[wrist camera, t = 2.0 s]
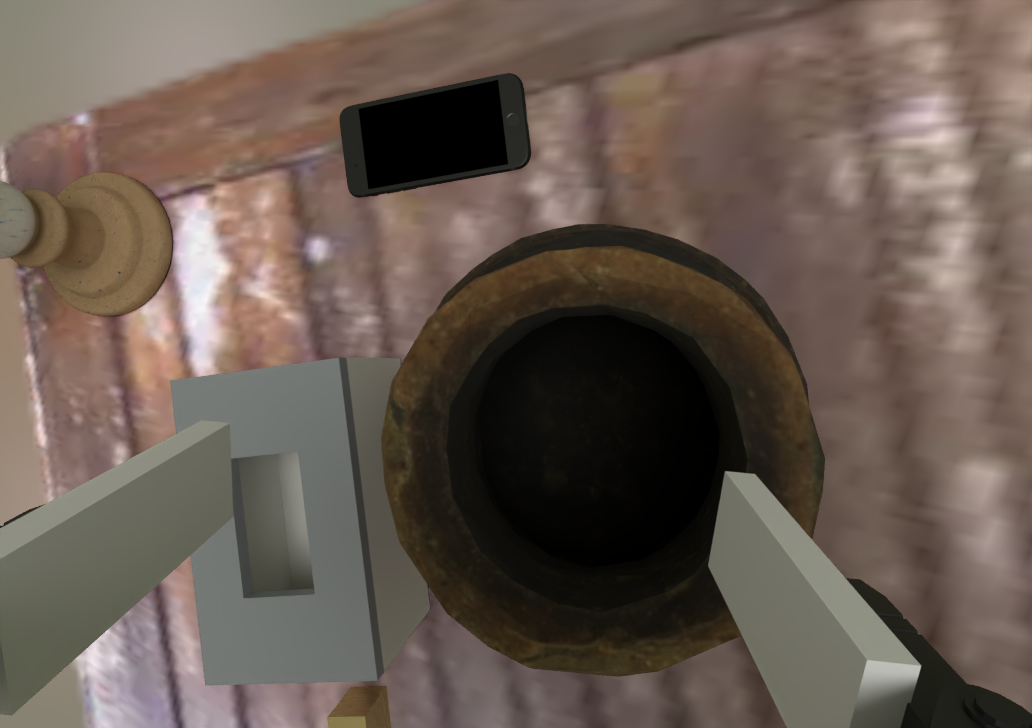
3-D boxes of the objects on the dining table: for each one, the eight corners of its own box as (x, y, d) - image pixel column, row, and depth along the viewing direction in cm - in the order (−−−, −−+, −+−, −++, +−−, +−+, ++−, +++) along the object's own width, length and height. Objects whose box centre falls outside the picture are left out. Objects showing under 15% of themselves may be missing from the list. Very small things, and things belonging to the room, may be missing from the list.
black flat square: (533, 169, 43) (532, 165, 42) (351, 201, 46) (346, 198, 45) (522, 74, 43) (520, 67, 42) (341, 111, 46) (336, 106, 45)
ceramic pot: (662, 191, 41) (717, -6, 19) (833, 485, 39) (1116, 648, 17) (390, 350, 45) (171, 342, 23) (535, 625, 43) (450, 909, 21)
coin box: (430, 609, 44) (377, 680, 34) (292, 616, 46) (205, 685, 37) (399, 357, 45) (338, 357, 35) (263, 376, 47) (169, 380, 37)
